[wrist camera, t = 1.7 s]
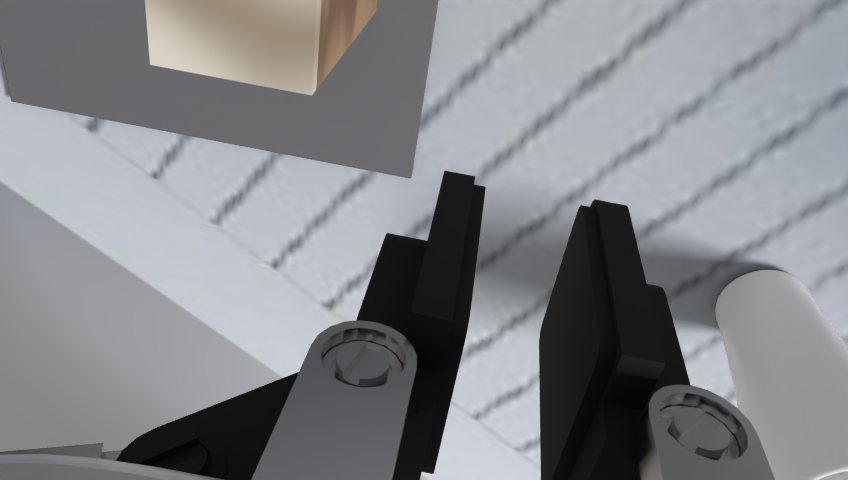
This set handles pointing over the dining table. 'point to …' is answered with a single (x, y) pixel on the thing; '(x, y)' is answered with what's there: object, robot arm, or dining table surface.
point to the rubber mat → (225, 83)
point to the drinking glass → (787, 373)
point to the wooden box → (255, 38)
